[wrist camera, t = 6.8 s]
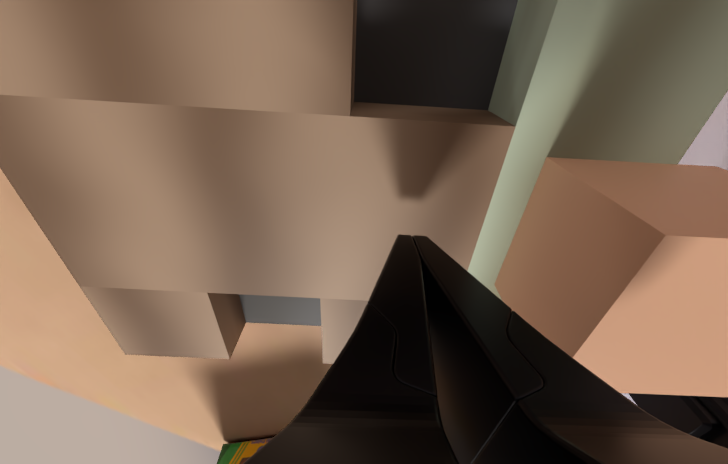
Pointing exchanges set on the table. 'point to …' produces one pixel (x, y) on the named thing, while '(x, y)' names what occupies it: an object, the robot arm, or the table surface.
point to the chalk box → (240, 451)
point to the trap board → (320, 140)
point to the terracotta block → (627, 272)
